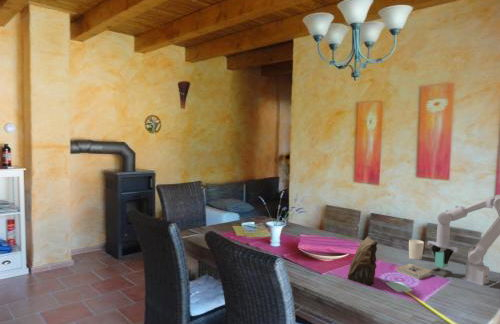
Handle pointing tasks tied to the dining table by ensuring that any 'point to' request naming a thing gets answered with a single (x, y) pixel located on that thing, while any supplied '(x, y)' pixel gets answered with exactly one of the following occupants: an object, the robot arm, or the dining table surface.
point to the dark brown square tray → (441, 272)
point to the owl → (364, 263)
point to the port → (409, 267)
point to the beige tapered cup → (415, 249)
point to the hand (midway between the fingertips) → (441, 262)
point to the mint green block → (440, 259)
